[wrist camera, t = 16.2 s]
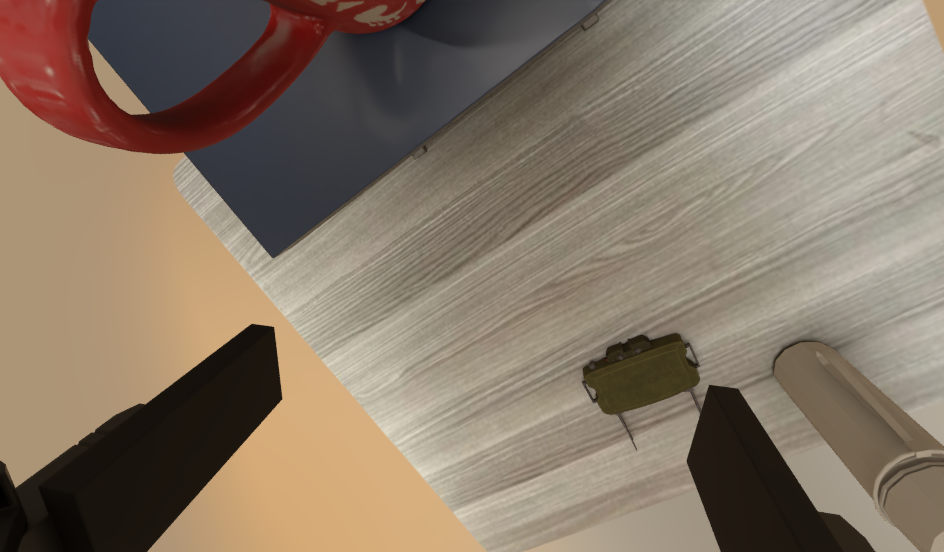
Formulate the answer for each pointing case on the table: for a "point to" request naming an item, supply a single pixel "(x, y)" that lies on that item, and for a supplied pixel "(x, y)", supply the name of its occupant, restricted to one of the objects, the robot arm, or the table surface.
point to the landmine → (641, 374)
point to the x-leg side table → (328, 92)
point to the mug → (197, 118)
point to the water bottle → (871, 439)
